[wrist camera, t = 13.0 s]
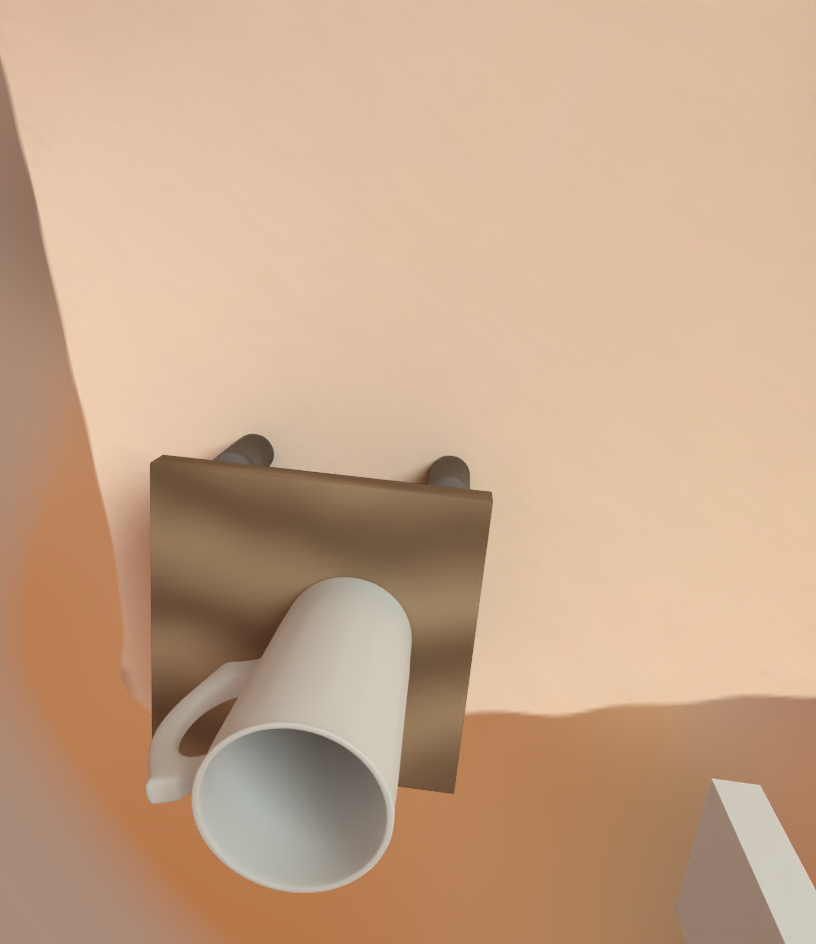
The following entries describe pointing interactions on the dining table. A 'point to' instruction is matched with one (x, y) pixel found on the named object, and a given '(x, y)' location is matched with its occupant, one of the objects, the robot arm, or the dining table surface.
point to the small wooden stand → (314, 579)
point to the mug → (300, 743)
